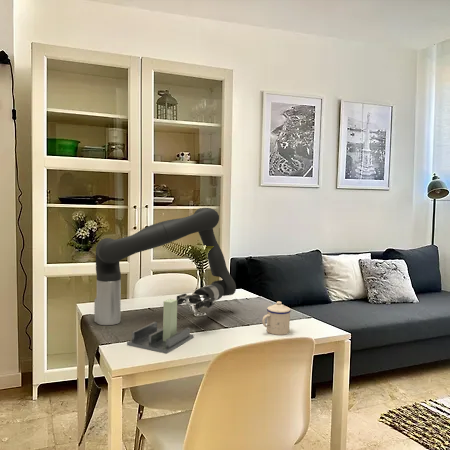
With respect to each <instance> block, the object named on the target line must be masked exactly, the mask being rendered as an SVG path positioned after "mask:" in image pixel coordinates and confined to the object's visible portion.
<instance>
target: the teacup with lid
mask: <svg viewBox="0 0 450 450" xmlns="http://www.w3.org/2000/svg"><path fill="white" fill-rule="evenodd" d="M266 312H267V314H264V315H263V317H262V320H261V322H262V325H263V327H265V328H266V331H267V332H268V333H269V334H272V335H275V336H283V335H287V334H289V333H290V325H291V324H290V323H291V322H290V321H291V320H290V319H291V308H290V307H288V306H286V305H284V304H282V301H280V300H279V301H276V303H274V304H273V305H272V304H271V305H268V307H266Z"/></svg>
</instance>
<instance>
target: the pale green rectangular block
mask: <svg viewBox="0 0 450 450" xmlns="http://www.w3.org/2000/svg"><path fill="white" fill-rule="evenodd" d="M162 309H163V315H162V319H163V320H162V324H163V325H162V329H163V341H166V339H167V338H169V337H171V336H173V335H175V334H177V332H178V331H177V329H178V328H177V327H178V324H177V323H178V306H177V299H172V298H169V299H166V300H164V301H163V308H162Z"/></svg>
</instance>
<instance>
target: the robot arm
mask: <svg viewBox="0 0 450 450" xmlns="http://www.w3.org/2000/svg"><path fill="white" fill-rule="evenodd" d="M219 222H220V215H219V213H218V212H217V210H216V209H214V208H211V207H200V208H198V209H196V210H195V211H194V212H193V214H190V215H187V216H185V217H180V218H173V219H167V220H163V221H160V222H156V223H154V224H151V225H148V226H146V227H143V228H142V229H141V230H139V231H137V232H136V233H133V234H131V235H128V236H125V237H120V238H115V239H113V238H111V237H107V238H103V239H101V240H100V241H98V243H97V244H96V246H95V273H96V297H95V298H94V307H93V308H94V309H93V310H94V319H93V320H94V321H93V322H94V323H96V324H97V325H101V326H112V325H117V324H119V323H120V322H121V312H122V311H121V310H122V309H121V305H122V304H121V301H122V299H121V298H122V297H121V296H122V293H121V291H122V290H121V289H122V285H121V283H122V280H121V279H122V274H121V273H122V272H121V267H120V261H121V260H124V259H126V258H129V257H130V256H133V255H135V254H138V253H141V252H145V251H149V250H151V249H152V250H153V249H155V248H158V247H161V246H164V245H167V244H170V243H172V242H175V241H177V240H179V239H180V240H181V239H183V238H185V237H187V236H189V235H191V234H196V233H198V235H199V237H200V239H201V242H202V245H203V246H204V245H206V246H214V247H213V248H212V249H211V250H210V251H209V253H208V258H207V261H208V265H209V269H210V272H211V275H212V276H213V277H216V278H217V277H218V278H221V279H217V280H214V281H212V283H211V284H208V285H204V286H202V287H200V288H197V289H196V290H194V292H193V293H191V294H187V293H181V294H179V295H176V300H177V307H178V306H181V305H182V304H183V305H184V304H185V305H194V306H195V307H194V309H195V310H199V309H200V308H207V309H208V308H211V307H213V306H214V305H216V304H215V302H217V301H218V300H220V299H222V297H226V296H233V295H234V294H235V293H236V290H237V285H236V282H235V280H234V279H233V277H232V275H231V274H230V272H229V270H228V267H227V264H226V260H225V257H224V254H223V251H222V249H221V247H220V245H219V242H218V241H217V238H216V236H215V232H214V228H216V226H217V225H218V224H219Z"/></svg>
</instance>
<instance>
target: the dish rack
mask: <svg viewBox="0 0 450 450" xmlns="http://www.w3.org/2000/svg"><path fill="white" fill-rule="evenodd" d="M194 336H195V335H194V334H192V333H191V329H190V327H185V328H184V329H182V330H180V331H177V334H175V335H173V336H171V337H169V338H167V339H166V341H163V328H160V327H158V322H157V321H153V322H151V323H149V324H147V325H146V324H145V326H142V327H140V328H138V329H136V330H134V331H131V340H128V341H127V342H126V345H127V346H130V347H134V348H140V349H144V350H149V351H154V352H158V353H163V354H168V353H170V352H172V351H174V350H175V349H177V348H178V347H180V346H182V345H183V344H186V342H188V341H190V340H192V339H193V338H194Z"/></svg>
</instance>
